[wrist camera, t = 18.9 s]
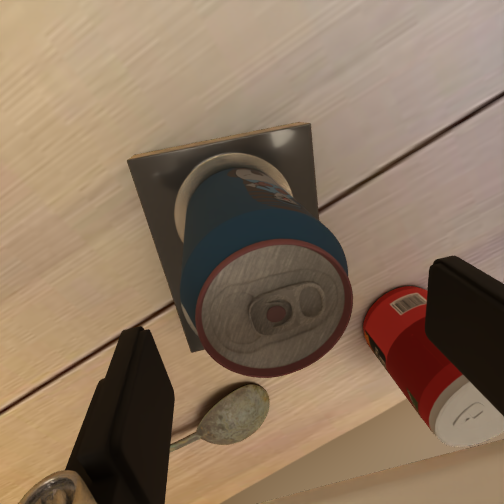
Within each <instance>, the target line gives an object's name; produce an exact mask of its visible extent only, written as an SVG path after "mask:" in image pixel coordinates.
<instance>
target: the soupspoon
mask: <svg viewBox="0 0 504 504" xmlns="http://www.w3.org/2000/svg"><path fill="white" fill-rule="evenodd" d="M268 410H269V396H268V394H267V392H266V390H264V389H263V388H262V387H261V386H259V385H254V384H251V385H246V386H243V387H240V388H238V389H236V390H235V391H233V392H231V393H230V394H228V395H227V396H225V397H224V398H223V399H222V400H220V401H219V402H218V403H217V404H216V405H214V406H213V407H212V408H211V409H210V410H209V412H208V413H207V414H206V415H205V416H204V417H203V419H202V420H201V422H200V423H199V425H198V428H197V431H196V432H195V433H193V434H191V435H189V436H187V437H185V438H183V439H181V440H179V441H177V442H175V443H172V444H170V452H172V451H174V450H177V449H179V448H181V447H183V446H186V445H188V444H190V443H192V442H194V441H196V440H199V439H203V440H205V441H207V442H210V443H213V444H219V445H229V444H234V443H237V442H240V441H242V440H244V439H246V438H248V437H249V436H250V435H252V434H253V433H254V432H255V431H256V430H257V429H258V428H260V426H261V425H262V423H263V422H264V420H265V418H266V416H267V413H268Z"/></svg>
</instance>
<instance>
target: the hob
mask: <svg viewBox="0 0 504 504" xmlns="http://www.w3.org/2000/svg"><path fill="white" fill-rule="evenodd" d="M227 153H245V154H250V155H254V156H257V157H259V158H261V159H264V160H265V161H267V162H269V163H270V164H272V165H273V166H274V167H275V168H276V169H278V171H279V172H280V173H281V174H282V175H283V176H284V178H285V179H286V181H287V182H288V184H289V186H290V188H291V191H292V194H293V198H294V199H295V200H297V201H298V202H299V203H300V204H301V205H302V206H303V207H304V208H305V209H306V210H308V211H309V212H310V213H311V214H312V215H313V216H314V217H315V218H316V219H318V220H319V214H318V203H317V191H316V179H315V168H314V156H313V145H312V133H311V124H310V123H304V122H296V123H291V124H286V125H281V126H276V127H271V128H266V129H261V130H256V131H251V132H246V133H241V134H236V135H231V136H226V137H221V138H216V139H211V140H206V141H201V142H196V143H191V144H186V145H181V146H176V147H171V148H166V149H161V150H156V151H151V152H146V153H141V154H136V155H133V156H132V157H131V158H129V159H128V160H127V163H128V166H129V169H130V172H131V175H132V178H133V181H134V184H135V187H136V190H137V193H138V195H139V198H140V201H141V204H142V207H143V210H144V213H145V216H146V219H147V222H148V225H149V228H150V231H151V234H152V237H153V240H154V243H155V246H156V249H157V252H158V255H159V258H160V261H161V264H162V267H163V270H164V273H165V276H166V279H167V282H168V285H169V288H170V291H171V294H172V297H173V300H174V303H175V306H176V309H177V312H178V315H179V318H180V321H181V324H182V327H183V330H184V333H185V336H186V339H187V342H188V345H189V348H190V351H191V353H193V352H197V351H201V350H205V349H204V347H203V345H202V343H201V341H200V339H199V337H198V336H197V335H196V333H195V332H194V331H193V330H192V328H191V327H190V325H189V324H188V322H187V320H186V318H185V315H184V313H183V310H182V306H181V300H180V281H181V269H182V256H183V242H182V241H181V239H180V237H179V234H178V232H177V229H176V224H175V217H174V209H175V202H176V197H177V194H178V191H179V189H180V187H181V185H182V183H183V181H184V180H185V179H186V177H187V176H188V175H189V173H190V172H191V171H192V170H193V169H194V168H196V167H197V166H198V165H199V164H201V163H202V162H204V161H206V160H207V159H210V158H212V157H214V156H218V155H221V154H227Z"/></svg>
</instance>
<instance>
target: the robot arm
mask: <svg viewBox="0 0 504 504" xmlns="http://www.w3.org/2000/svg"><path fill="white" fill-rule="evenodd" d="M425 333H426V336H427V338H428V339H429V340H430V341H431V342H432V343H433V344H434V345H435V346H436V347H437V348H438V349H439V350H440V351H441V352H442V353H443V355H444V356H445V357H446V358H447V359H448V360H449V361H450V362H451V363H452V364H453V365H454V366H455V367H456V368H457V369H458V370H459V371H460V372H461V373H462V374H463V375H464V376H465V377H466V378H467V379H468V380H469V381H470V382H471V383H472V384H473V385H474V386H475V388H476V389H477V390H478V391H479V392H480V393H481V394H482V395H483V396H484V397H485V398H486V399H487V400H488V401H489V402H490V403H491V404H492V405H493V406H494V407H495V408H496V409H497V410H498V411H499V412H500V413H501V414H502V415H503V416H504V284H503V283H501V282H499V281H498V280H496V279H494V278H493V277H491V276H489V275H487V274H486V273H484V272H482V271H481V270H479V269H477V268H476V267H474V266H472V265H471V264H469V263H467V262H465V261H464V260H462V259H460V258H459V257H457V256H449V257H445V258H441V259H437V260H435V261H434V263H433V265H431V266H430V269H429V279H428V291H427V304H426V316H425ZM174 401H175V397H174V390H173V387H172V385H171V382H170V379H169V377H168V374H167V372H166V369H165V367H164V364H163V362H162V359H161V357H160V354H159V352H158V349H157V346H156V344H155V341H154V339H153V336H152V334H151V332H150V330H144V328H143V327H141V326H140V327H136V328H131V329H127V330H123V331H122V333H121V335H120V338H119V341H118V343H117V346H116V349H115V352H114V354H113V357H112V360H111V363H110V366H109V368H108V371H107V374H106V377H105V378H104V379H102V380H100V381H99V383H98V385H97V387H96V390H95V392H94V395H93V398H92V400H91V403H90V406H89V408H88V411H87V413H86V416H85V419H84V421H83V424H82V427H81V429H80V432H79V435H78V437H77V440H76V442H75V445H74V448H73V450H72V453H71V456H70V458H69V461H68V463H67V466H66V469H65V470H63V471H58V472H55V473H53V474H51V475H49V476H47V477H45V478H44V479H42V480H41V481H39V482H38V483H37V484H35V485H34V486H33V487H32V488H31V489H30V490H29V491H28V492H27V493H26V494H25V495H24V497H23V498H22V499H21V500H20V502H19V503H18V504H165V494H166V483H167V473H168V463H169V453H170V442H171V432H172V422H173V411H174ZM257 504H504V439H502V440H498V441H494V442H490V443H486V444H482V445H478V446H474V447H470V448H466V449H462V450H459V451H455V452H451V453H447V454H443V455H440V456H435V457H432V458H428V459H424V460H420V461H416V462H412V463H408V464H405V465H401V466H397V467H393V468H389V469H386V470H382V471H378V472H374V473H370V474H367V475H363V476H359V477H355V478H351V479H347V480H344V481H340V482H336V483H332V484H328V485H325V486H321V487H317V488H314V489H310V490H306V491H302V492H299V493H295V494H291V495H287V496H283V497H280V498H276V499H272V500H269V501H265V502H261V503H257Z"/></svg>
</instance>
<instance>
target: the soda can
mask: <svg viewBox="0 0 504 504" xmlns="http://www.w3.org/2000/svg"><path fill="white" fill-rule="evenodd" d="M180 300H181V306H182V310H183V313H184V315H185V318H186V320H187V322H188V324H189V325H190V327H191V328H192V330H193V331H194V332H195V333H196V335H197V336H198V337H199V339H200V341H201V343H202V345H203V347H204V349H205V350H206V351H207V353H208V354H209V355H210V356H211V357H212V358H213V359H214V360H215V361H216V362H217V363H219V364H220V365H222V366H223V367H225V368H227V369H228V370H231V371H233V372H236V373H238V374H242V375H246V376H251V377H258V378H271V377H278V376H283V375H287V374H290V373H293V372H296V371H298V370H301V369H303V368H305V367H307V366H309V365H311V364H313V363H314V362H316V361H317V360H319V359H320V358H321V357H323V356H324V355H325V354H326V353H327V352H329V351H330V350H331V349H332V348H333V346H334V345H335V344H336V343H337V342H338V340H339V339H340V338H341V336H342V335H343V333H344V331H345V329H346V327H347V325H348V323H349V320H350V317H351V313H352V306H353V294H352V287H351V284H350V281H349V278H348V266H347V261H346V257H345V254H344V252H343V249H342V247H341V245H340V243H339V242H338V240H337V239H336V237H335V236H334V235H333V234H332V233H331V231H330V230H329V229H328V228H326V227H325V226H324V225H323V224H322V223H321V222H320V221H319V220H318V219H316V218H315V217H314V216H313V215H312V214H311V213H310V212H309V211H308V210H306V209H305V208H304V207H303V206H302V205H301V204H300V203H299V202H298V201H297V200H295V199H294V198H293V197H292V196H291V195H290V194H289V193H288V192H287V191H285V190H284V189H283V188H282V187H281V186H280V185H279V184H278V183H277V182H275V181H274V180H273V179H272V178H271V177H269V176H267V175H266V174H264V173H262V172H259V171H256V170H253V169H248V168H232V169H227V170H224V171H221V172H218V173H216V174H214V175H212V176H211V177H209V178H208V179H206V180H205V181H204V182H203V183H202V184H201V185H200V186H199V187H198V188H197V189H196V190H195V192H194V193H193V195H192V197H191V199H190V201H189V204H188V207H187V211H186V219H185V231H184V244H183V256H182V269H181V281H180Z"/></svg>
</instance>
